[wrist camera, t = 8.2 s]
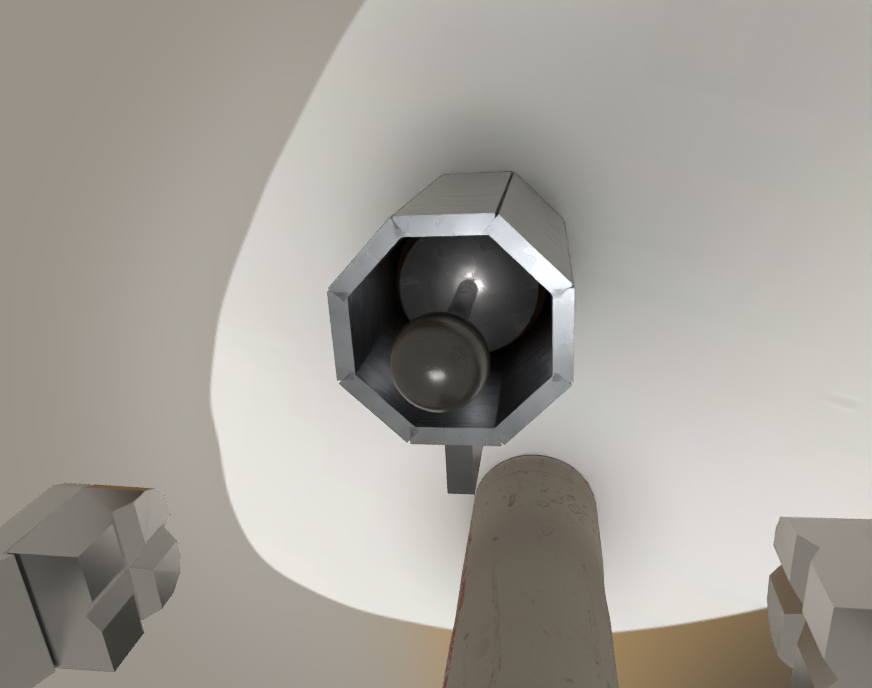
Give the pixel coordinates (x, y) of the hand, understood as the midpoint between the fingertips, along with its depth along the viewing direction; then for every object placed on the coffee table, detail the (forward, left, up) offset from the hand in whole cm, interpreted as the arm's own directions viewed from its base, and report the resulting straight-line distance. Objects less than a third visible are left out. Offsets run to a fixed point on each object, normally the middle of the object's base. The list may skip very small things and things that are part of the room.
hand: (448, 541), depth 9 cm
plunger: (+2, +3, -25) cm, 26 cm away
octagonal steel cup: (+2, +5, -32) cm, 32 cm away
